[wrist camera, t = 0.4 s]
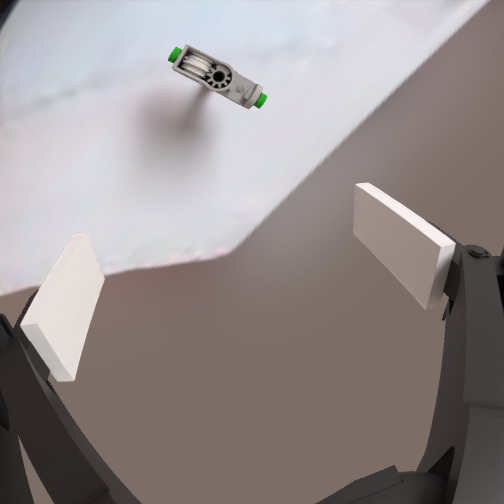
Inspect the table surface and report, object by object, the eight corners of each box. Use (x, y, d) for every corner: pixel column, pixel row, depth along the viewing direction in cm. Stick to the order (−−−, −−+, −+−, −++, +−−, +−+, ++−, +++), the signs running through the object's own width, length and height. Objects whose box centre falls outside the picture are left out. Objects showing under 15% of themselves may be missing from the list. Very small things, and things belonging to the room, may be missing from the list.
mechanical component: (241, 109, 37) (257, 114, 29) (170, 72, 33) (163, 65, 25) (253, 90, 36) (273, 89, 28) (182, 52, 32) (179, 39, 24)
